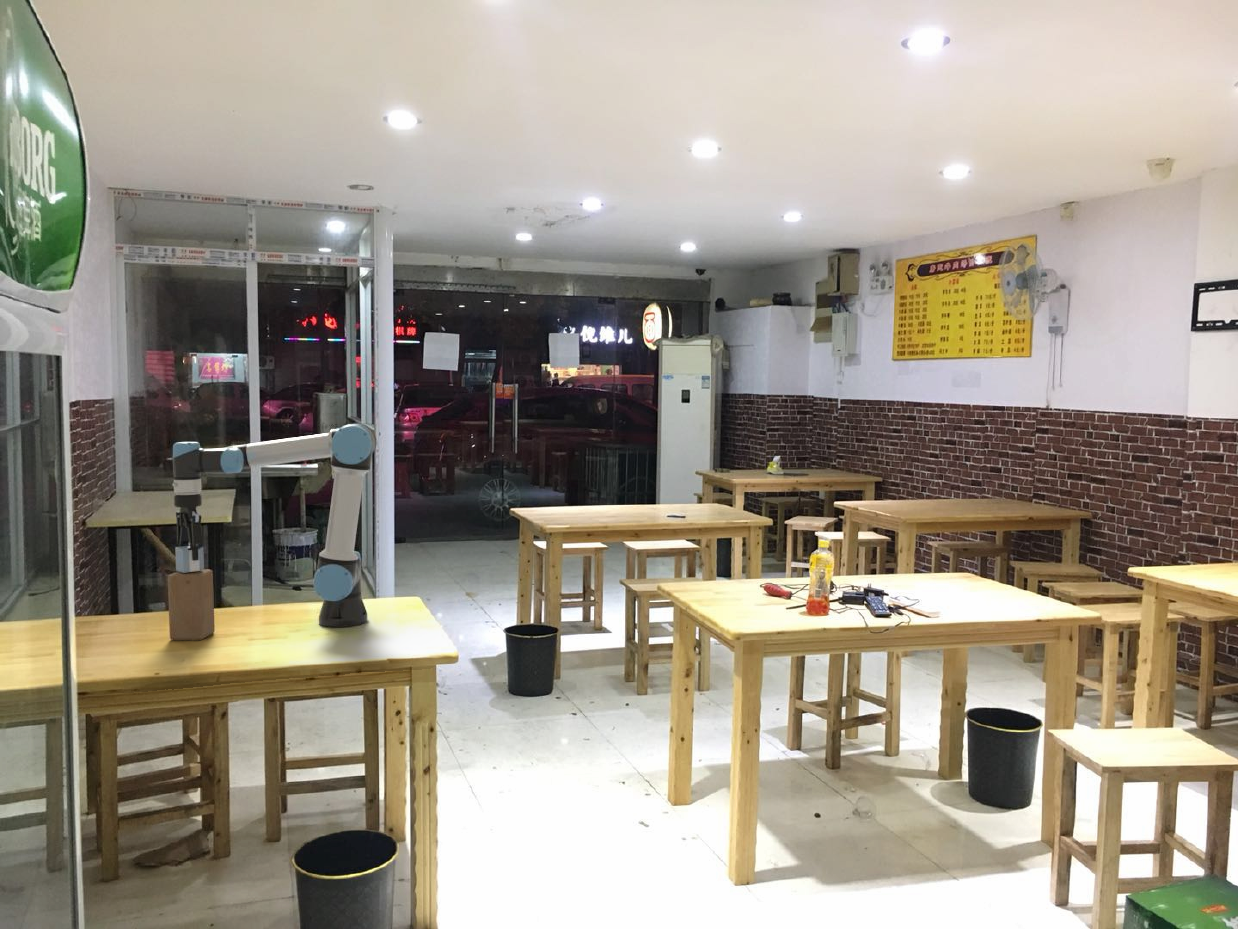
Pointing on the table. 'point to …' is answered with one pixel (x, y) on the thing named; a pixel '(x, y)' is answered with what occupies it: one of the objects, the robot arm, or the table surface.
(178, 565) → the slate block
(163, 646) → the table surface
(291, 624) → the table surface
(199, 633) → the wooden block
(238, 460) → the robot arm
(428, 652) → the table surface
